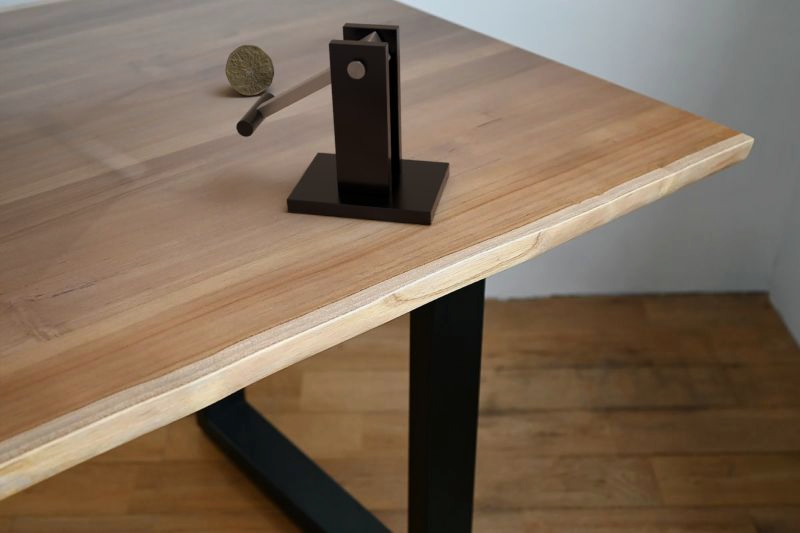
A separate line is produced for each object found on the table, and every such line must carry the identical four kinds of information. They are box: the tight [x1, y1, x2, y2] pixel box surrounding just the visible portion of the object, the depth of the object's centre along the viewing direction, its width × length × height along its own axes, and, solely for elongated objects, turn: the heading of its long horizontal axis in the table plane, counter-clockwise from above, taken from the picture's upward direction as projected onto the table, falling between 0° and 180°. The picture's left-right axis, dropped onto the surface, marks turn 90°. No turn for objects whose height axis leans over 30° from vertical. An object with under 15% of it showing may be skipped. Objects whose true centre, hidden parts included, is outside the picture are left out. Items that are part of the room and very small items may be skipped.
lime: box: [224, 44, 275, 96], centre depth 96 cm, size 4×5×5 cm
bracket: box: [286, 22, 450, 226], centre depth 74 cm, size 12×9×14 cm
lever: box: [235, 32, 391, 138], centre depth 73 cm, size 13×6×2 cm, turn 78°
